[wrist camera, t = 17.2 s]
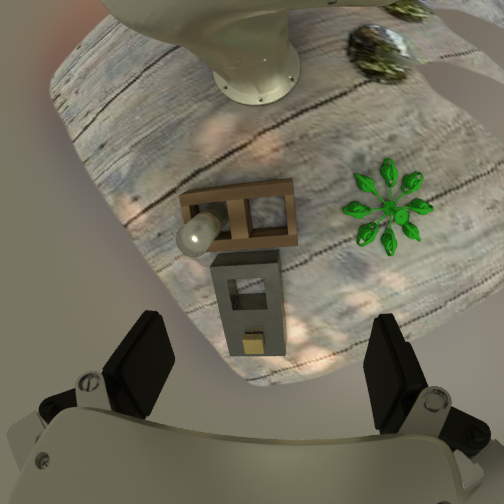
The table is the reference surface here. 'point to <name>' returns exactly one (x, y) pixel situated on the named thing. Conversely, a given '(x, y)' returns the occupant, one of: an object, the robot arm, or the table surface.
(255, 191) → the frame
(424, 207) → the chandelier
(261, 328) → the socket block
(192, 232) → the grey tall cylinder
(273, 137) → the table surface
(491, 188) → the table surface
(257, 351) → the release key
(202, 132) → the table surface
